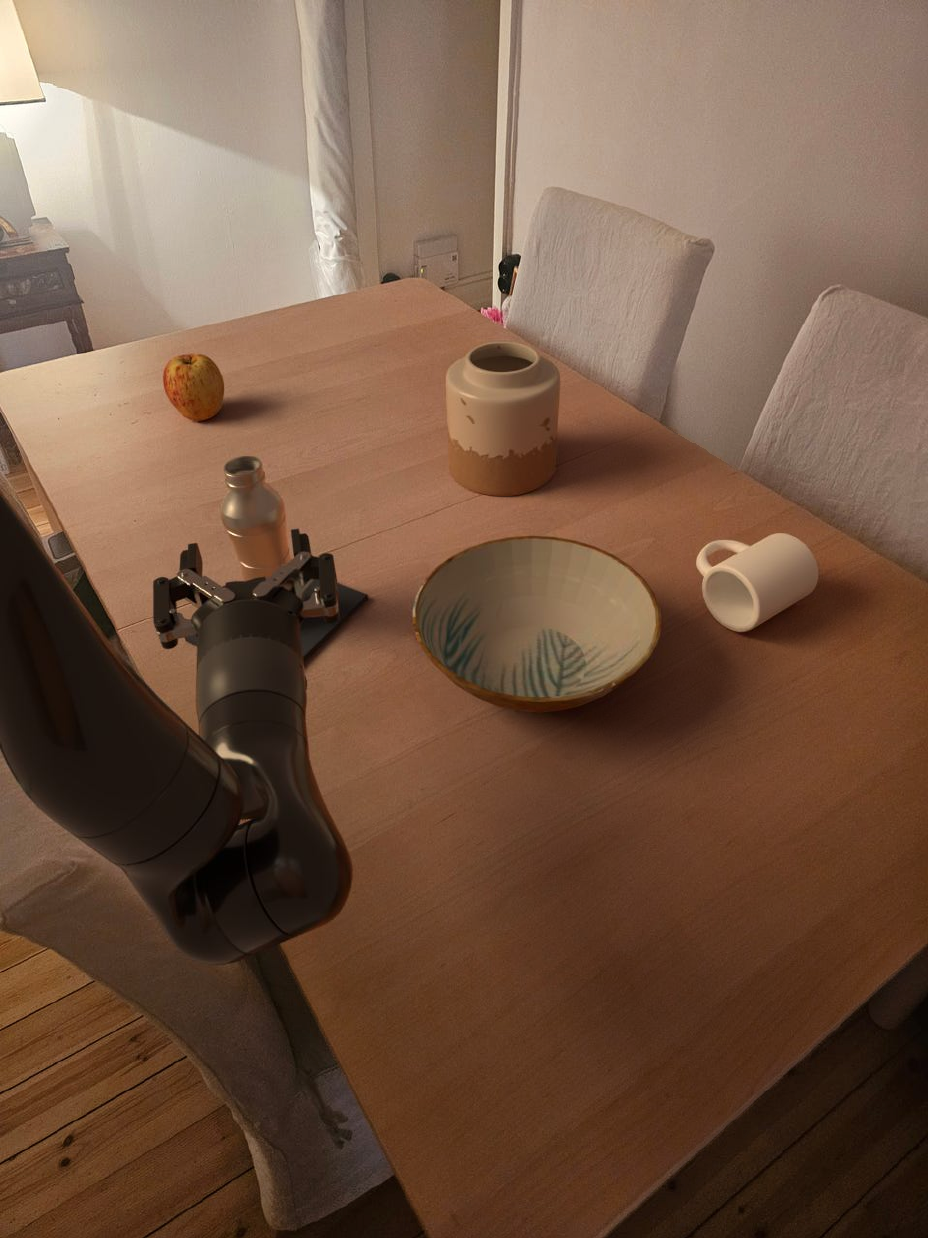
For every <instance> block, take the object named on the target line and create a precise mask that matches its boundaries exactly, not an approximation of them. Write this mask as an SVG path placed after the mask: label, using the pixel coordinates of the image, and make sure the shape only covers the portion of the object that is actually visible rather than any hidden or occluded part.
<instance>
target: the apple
mask: <svg viewBox="0 0 928 1238" xmlns="http://www.w3.org/2000/svg"><path fill="white" fill-rule="evenodd" d="M162 383H163V387H164V388H163V389H164V392H165V395H166V397H167V399H168V401H169V402H170V403H171V404H172V406H173V407H174V408H175V409H176V410H177V411H178V413H180V414H181V415H182V416H183V417H184V418H186V419H189V420H191V421H195V422H201V421H202V422H203V421H205V420H208V419H210V418H213V417H214V416H216V415H217V414H218V412H219V411H220V410H221V408H222V405H223V401H224V398H225V397H224V396H225V382H224V377H223V375H222V372H221V370H220V369H219V367H218V365H217V364H216V362H215V361H214V360H212V358H211V357H209V356H207V355H204V354H202V353H187V354H181V355H177V356H175V357H173V358H171V359H170V360H169V361H168V362H167V363H166V365H165V367H164V370H163V375H162Z"/></svg>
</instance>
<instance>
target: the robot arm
mask: <svg viewBox="0 0 928 1238" xmlns="http://www.w3.org/2000/svg"><path fill="white" fill-rule="evenodd" d="M290 535H291V536H290V537H291V545H292V554H293V558H291V559H292V560H291V561H290V562H289V563H288V564H287V565H285V564H281V565H280V566H279V567H278V568H277V569H276V570H275V571H274V572H273V573H272V574H271V575H270V576H269V577H268V578H267V579H266V578H265V577H260V578H254V579H251V580H248V581H243V580H233V581H227V582H225V585H222V586H221V585H220V584H219V583H217V582H216V581H214V580H213V579H212V578H210V577H209V576H207V575H203V558H202V554H201V551H200V547H199V544H198V543H197V542H192V543H188V544H187V549H185V550H182V551H181V553H180V555H179V571H178V572H177V573H176V576H174V577H172V578H168V577H166V576H160V577H157V578H156V579H154V580H153V582H152V591H153V592H152V614H153V615H152V622H153V626H154V629H155V631H156V634H157V637H158V639H159V641H160V645H161V647H162V648H163V649H164V650H171V649H174V648H175V647H177V646H178V644H179V639H185V638H184V637H189V636H195V635H196V637H197V646H196V669H195V670H196V672H195V677H196V678H195V708H196V709H195V711H196V716H197V721H198V733H197V732H196V731H195V730H194V729H193V728H192V727H191V726H189V725H188V724H187V723H186V721H185V720H183V718H182V717H181V716H180V715H178V714H177V713H176V711H174V710H173V709H172V708H171V707H170V706H169V705H168V704H167V703H166V702H165V701H164V700H162V699H161V698H160V697H159V695H157V693H156V692H155V691H154V689H152V688H151V687H150V686H149V685H148V684H147V682H145V680H144V679H143V678H142V677H141V676H139V674H138V673H137V672H136V671H135V669H134V668H132V666H131V665H130V664H129V662H128V661H127V660H126V659H125V658H124V657H123V656H122V654H121V653H120V651H118V650H117V648H116V647H115V646H114V645H113V643H112V642H111V641H110V640H109V638H108V637H107V636H106V634H105V633H104V632H103V631H102V629H101V628H100V626H99V625H98V624H97V622H96V621H95V619H94V618H93V616H92V615H91V614H90V612H89V611H88V609H87V608H86V607H85V606H84V604H83V603H82V601H81V600H80V598H79V596H77V594H76V593H75V590H73V588H72V586H71V585H70V584H69V583H68V581H67V579H66V578H65V576H64V575H63V573H62V572H61V570H59V568H58V566H57V565H56V564H55V562H54V561H53V559H52V558H51V556H50V555H49V554H48V552H47V551H46V549H45V548H44V546H42V544H41V543H40V541H39V540H38V538H37V536H35V534H34V532H33V531H32V529H31V528H30V527H29V525H28V524H27V523H26V522H25V520H24V519H23V517H22V516H21V514H20V513H19V512H18V511H17V509H16V508H15V507H14V505H13V504H12V503H11V501H10V500H9V498H8V497H7V495H6V494H5V493H4V491H3V490H2V489H1V488H0V753H1V755H2V758H3V760H4V762H5V763H6V765H7V767H8V769H9V771H10V772H11V775H12V776H13V778H14V780H15V781H16V782H17V784H18V785H19V787H20V788H21V789H22V791H23V793H24V794H25V796H27V798H28V799H30V801H31V802H32V803H33V804H34V806H35V807H37V809H38V810H40V811H41V812H42V813H43V814H44V815H46V816H47V817H48V818H49V819H50V820H51V821H53V822H54V823H56V824H57V825H59V826H60V827H61V828H62V829H64V830H65V831H66V832H68V833H69V834H71V835H73V836H74V837H75V838H76V839H78V840H79V841H81V842H82V843H83V844H85V845H86V846H87V847H89V848H91V849H92V850H93V851H95V852H96V853H98V854H99V855H100V856H101V857H103V858H104V859H106V860H107V861H109V862H110V863H112V864H113V865H115V866H116V867H117V868H119V869H120V870H121V871H122V872H123V873H124V875H125V876H126V878H127V879H128V880H129V882H130V883H131V884H132V886H133V888H134V889H135V890H136V892H137V893H138V895H139V896H140V897H141V899H142V900H143V902H144V903H145V905H146V906H147V907H148V909H149V910H150V912H151V913H152V915H153V916H154V918H155V920H156V921H157V923H158V924H159V926H160V928H161V930H162V931H163V933H164V934H165V936H166V938H167V939H168V941H169V943H170V944H171V945H172V946H173V947H174V949H175V950H176V951H177V952H179V953H180V954H181V956H183V957H185V958H187V959H189V960H191V961H194V962H196V963H199V964H204V965H210V966H226V965H230V964H234V963H237V962H241V961H243V960H245V959H247V958H250V957H252V956H255V955H257V954H259V953H261V952H263V951H266V950H268V949H271V948H273V947H277V946H278V945H280V944H284V943H286V942H288V941H290V940H293V939H296V938H298V937H300V936H302V935H305V934H307V933H310V932H312V931H314V930H317V929H319V928H322V927H324V926H326V925H327V924H329V923H331V922H332V921H334V920H335V919H336V918H337V917H339V916H338V915H340V914H341V913H342V910H343V909H344V908H345V906H346V904H347V902H348V899H349V898H350V893H351V891H352V885H353V879H354V868H353V861H352V858H351V854H350V852H349V850H348V847H347V844H346V842H345V840H344V838H343V836H342V834H341V832H340V830H339V828H338V826H337V824H336V822H335V821H334V818H333V817H332V815H331V813H330V811H329V809H328V806H327V805H326V802H325V800H324V797H323V795H322V793H321V790H320V787H319V785H318V784H319V783H318V781H317V778H316V776H315V773H314V770H313V767H312V763H311V759H310V747H309V737H308V728H307V727H308V726H307V717H306V716H307V704H308V693H307V691H308V679H307V676H306V672H305V664H304V663H305V662H303V653H302V644H301V634H300V626H301V624H302V623H303V621H304V619H305V618H309V617H318V616H324V620H325V622H327V623H335V622H337V621H338V620H339V618H340V617H339V602H338V587H337V583H338V578H337V571H336V565H335V558H334V555H333V554H332V553H329V552H325V553H321V554H320V555H319V556H314V555H313V554H312V548H311V541H310V538H309V535H308V534H307V533H304V532H303V533H301V532H300V528H293V529H290ZM314 579H317V580H319V582H320V587H315V588H314V592H313V593H312V594H311V597H310V599H309V600H307V601H305V602H302V600H301V598H302V594H303V592H304V591H305V589H306V588H307V587H308V586H309V585H310V584H311V583H312V582H313V581H314ZM182 600H185V601H186V602H188V603H189V604H191V605H192V606H194V607H195V608H197V609H196V610H195V611H194V612H193V614H192V615H191V618H186V617H184V614H183V613H182V612H178V605H177V604H178V603H177V602H180V601H182ZM241 820H247V821H244V822H242V823H241Z"/></svg>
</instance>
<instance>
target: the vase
mask: <svg viewBox="0 0 928 1238" xmlns="http://www.w3.org/2000/svg"><path fill="white" fill-rule="evenodd" d="M560 396H561V373H560V370H559V368H558V367H557V366H556V364H555V363H554V362H553V361H551V360H550V359H548V358H547V357H545V356H543V355H540V353H539V352H538V350H537V349H535V348H533V346H530V345H528V344H525V343H521V342H516V341H503V340H502V341H491V342H486V343H483V344H480V345H477V346H474V347H473V348H471V349H470V350H469V351H468V352H467V354H466V355H464V356H462V357H460V358H459V359H457V360H456V361H454V362H453V363H452V364H451V365H450V366H449V367H448V369H447V371H446V374H445V404H446V428H447V429H446V431H447V450H448V453H447V454H448V468H449V471H450V475H451V476H452V478H453V479H454V480H455V481H456V483H458V485H460V486H461V487H463V488H464V489H467V490H469V491H471V492H474V493H477V494H480V495H485V496H493V497H511V496H518V495H523V494H527V493H530V492H534V491H536V490H538V489H540V488H542V487H543V486H545V484H547V483H548V482H549V481H550V480H551V479H552V478H553V476H554V473H555V472H556V471H555V470H556V464H557V452H558V451H557V449H558V433H559V417H560Z"/></svg>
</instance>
